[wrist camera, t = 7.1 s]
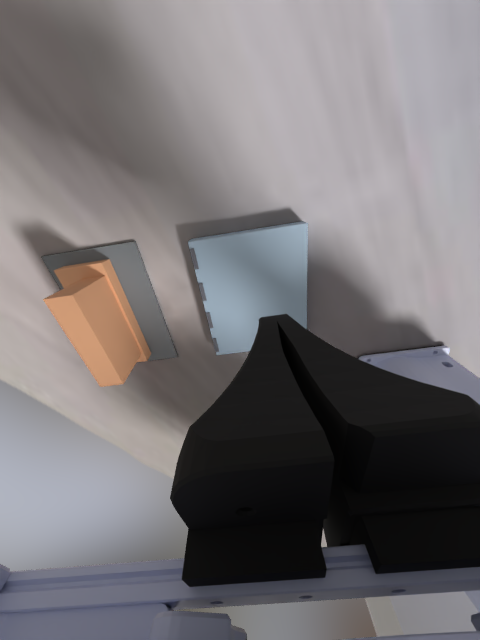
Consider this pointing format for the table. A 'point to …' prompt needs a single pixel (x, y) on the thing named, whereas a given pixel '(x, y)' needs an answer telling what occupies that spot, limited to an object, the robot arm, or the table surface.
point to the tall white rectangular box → (421, 613)
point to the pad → (127, 290)
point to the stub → (98, 320)
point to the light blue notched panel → (251, 280)
